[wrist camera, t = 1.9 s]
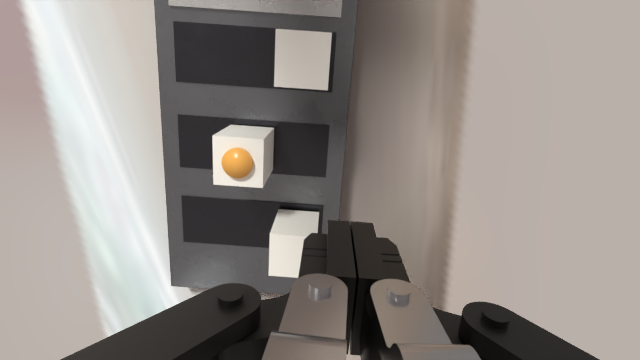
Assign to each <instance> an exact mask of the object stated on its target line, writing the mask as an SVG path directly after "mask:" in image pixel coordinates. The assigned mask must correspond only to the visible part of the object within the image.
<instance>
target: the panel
mask: <svg viewBox="0 0 640 360" xmlns="http://www.w3.org/2000/svg"><path fill="white" fill-rule="evenodd" d="M154 6H155V23H156V39H157V56H158V72H159V89H160V105H161V122H162V139H163V155H164V172H165V188H166V205H167V221H168V238H169V255H170V271H171V286H179V287H193V288H206V289H211V288H213V287H215V286H218V285H222V284H227V283H241V284H246V285H249V286H251V287H253V288H255V289H256V290H257V291H258V292H261V293H275V294H288V293H289V292H291V288H292V285H293V283H294V282H295V281H296V280H297V279H298V278H293V277H279V276H268V274H269V240H270V232H271V229H272V226H273V223H274V220H275V218H276V215H277V212H278V209H283V210H297V211H311V212H319V221H318V233H320V234H327V223H328V220H336V221H339V209H340V198H341V187H342V176H343V164H344V153H345V142H346V130H347V119H348V108H349V97H350V85H351V74H352V63H353V52H354V40H355V29H356V18H357V7H358V0H154ZM276 29H287V30H302V31H316V32H330V33H332V39H331V53H330V67H329V81H328V90H314V89H300V88H286V87H274V68H275V34H276ZM229 125H243V126H257V127H271V128H274V153H273V170H272V172H271V174H270V176H269V178H268V180H267V181H266V183H265V185H264V187H263V188H254V187H240V186H226V185H213V144H212V135H214V134H216V133H217V132H219V131H221V130H223V129H224V128H226V127H228V126H229Z"/></svg>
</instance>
